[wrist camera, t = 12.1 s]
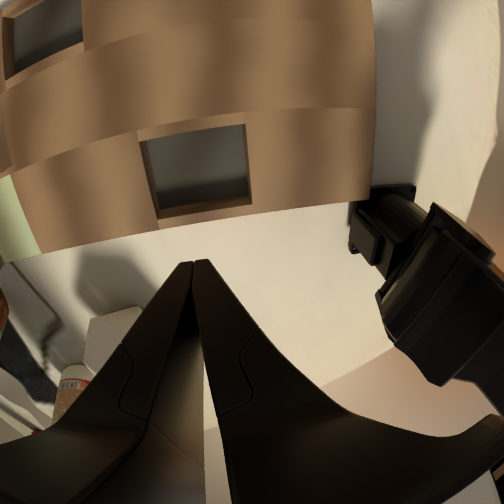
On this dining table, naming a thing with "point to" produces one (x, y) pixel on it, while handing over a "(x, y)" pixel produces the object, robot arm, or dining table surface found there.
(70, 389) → the fruit juice
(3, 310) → the food container
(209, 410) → the dining table surface
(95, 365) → the die
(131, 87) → the board
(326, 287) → the dining table surface
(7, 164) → the birch cube
